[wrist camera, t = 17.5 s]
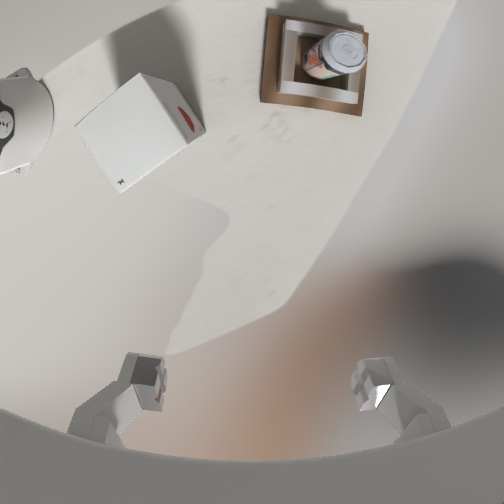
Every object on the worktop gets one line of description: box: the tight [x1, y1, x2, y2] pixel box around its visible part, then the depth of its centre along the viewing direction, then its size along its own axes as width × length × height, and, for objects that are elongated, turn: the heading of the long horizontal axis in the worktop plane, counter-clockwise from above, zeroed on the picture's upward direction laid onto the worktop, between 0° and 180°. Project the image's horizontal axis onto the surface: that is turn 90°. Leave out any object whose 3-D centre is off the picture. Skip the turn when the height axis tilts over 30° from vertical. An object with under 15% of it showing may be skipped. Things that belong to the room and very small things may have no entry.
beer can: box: [301, 30, 367, 80], centre depth 28 cm, size 5×5×12 cm
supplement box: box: [75, 72, 206, 194], centre depth 31 cm, size 9×9×15 cm
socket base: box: [260, 14, 369, 116], centre depth 33 cm, size 14×13×4 cm
